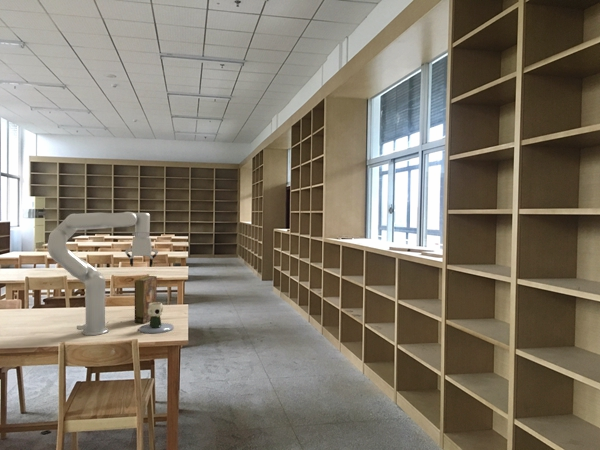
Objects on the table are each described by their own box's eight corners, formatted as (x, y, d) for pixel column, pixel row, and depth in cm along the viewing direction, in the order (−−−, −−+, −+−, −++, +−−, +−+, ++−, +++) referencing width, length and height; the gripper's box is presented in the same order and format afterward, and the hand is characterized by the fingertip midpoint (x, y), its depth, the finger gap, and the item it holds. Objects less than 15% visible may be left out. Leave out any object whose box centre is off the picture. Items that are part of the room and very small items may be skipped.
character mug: (152, 330, 253) (153, 306, 253) (143, 328, 257) (143, 304, 256) (167, 325, 263) (167, 302, 262) (157, 324, 266) (158, 301, 266)
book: (149, 316, 287) (149, 275, 286) (157, 317, 286) (157, 276, 285) (134, 323, 271) (134, 280, 270) (143, 324, 270) (143, 280, 269)
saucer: (138, 334, 249) (138, 332, 249) (140, 325, 266) (140, 324, 266) (173, 332, 254) (173, 330, 254) (173, 324, 271) (173, 322, 271)
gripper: (124, 235, 255) (123, 266, 255) (158, 236, 259) (157, 267, 259) (126, 234, 262) (125, 265, 262) (158, 235, 266) (157, 265, 267)
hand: (141, 266), depth 261 cm, fingers open, 9 cm apart
